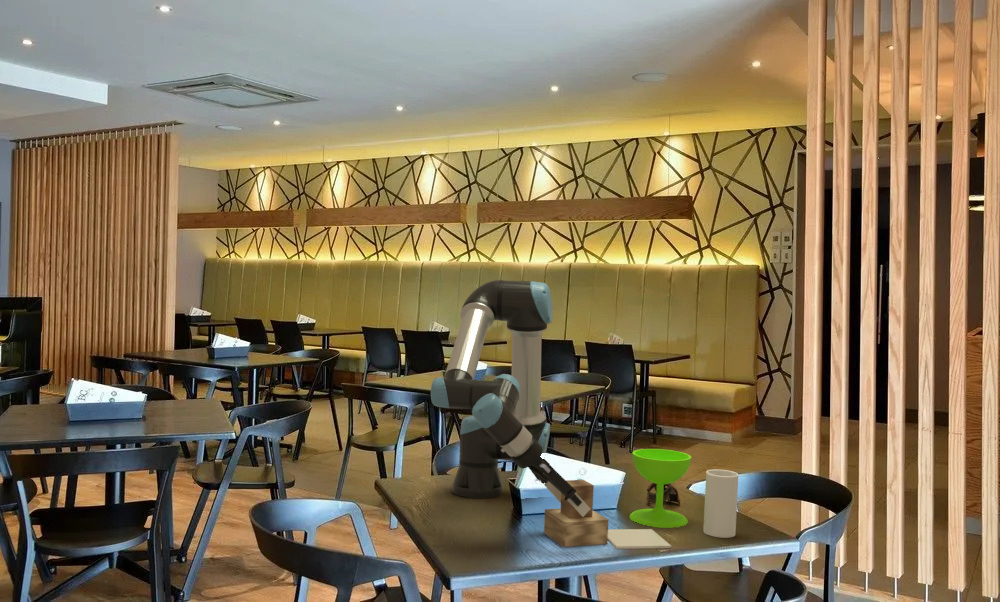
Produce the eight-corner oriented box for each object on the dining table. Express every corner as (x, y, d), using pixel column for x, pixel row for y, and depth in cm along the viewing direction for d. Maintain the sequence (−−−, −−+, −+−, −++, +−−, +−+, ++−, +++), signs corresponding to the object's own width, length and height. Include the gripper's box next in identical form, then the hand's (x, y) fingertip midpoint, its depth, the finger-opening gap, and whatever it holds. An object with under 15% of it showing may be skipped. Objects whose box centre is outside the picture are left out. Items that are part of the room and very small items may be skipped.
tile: (616, 548, 215) (616, 546, 215) (600, 531, 229) (600, 529, 229) (671, 548, 217) (671, 545, 217) (651, 531, 231) (651, 529, 231)
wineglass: (617, 514, 246) (620, 450, 246) (663, 509, 254) (666, 447, 253) (653, 530, 232) (656, 462, 232) (700, 524, 240) (703, 458, 239)
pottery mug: (686, 510, 256) (677, 487, 253) (657, 523, 256) (647, 500, 254) (674, 490, 267) (665, 468, 265) (645, 502, 268) (636, 480, 265)
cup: (737, 531, 235) (740, 471, 234) (733, 539, 227) (736, 477, 226) (705, 526, 238) (708, 468, 237) (700, 534, 230) (703, 473, 230)
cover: (563, 546, 215) (565, 489, 214) (543, 532, 226) (546, 478, 225) (607, 543, 219) (609, 487, 218) (586, 529, 230) (588, 476, 230)
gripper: (494, 447, 227) (545, 503, 232) (529, 469, 203) (585, 530, 208) (514, 427, 228) (564, 482, 234) (552, 445, 205) (607, 507, 210)
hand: (574, 505), depth 221 cm, fingers open, 13 cm apart
